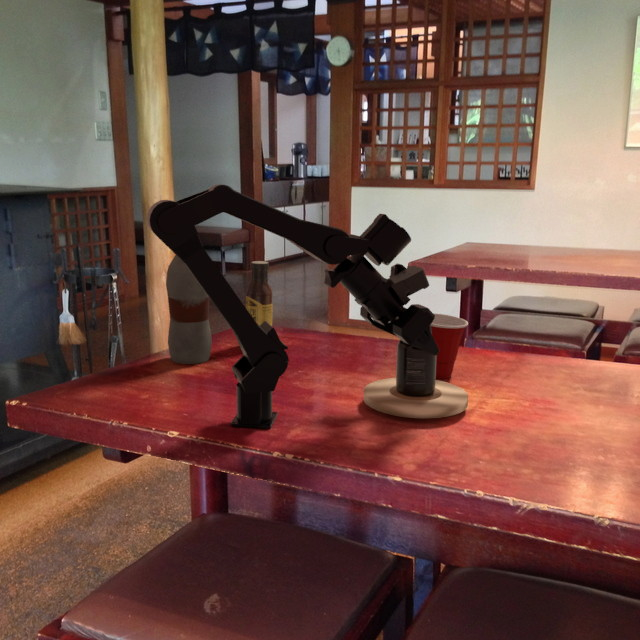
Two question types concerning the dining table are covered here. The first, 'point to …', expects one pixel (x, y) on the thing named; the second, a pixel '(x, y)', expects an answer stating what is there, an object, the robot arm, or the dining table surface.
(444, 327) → the plastic cup
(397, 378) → the supplement bottle
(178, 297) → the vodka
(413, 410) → the disc
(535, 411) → the dining table surface
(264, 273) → the sauce bottle
